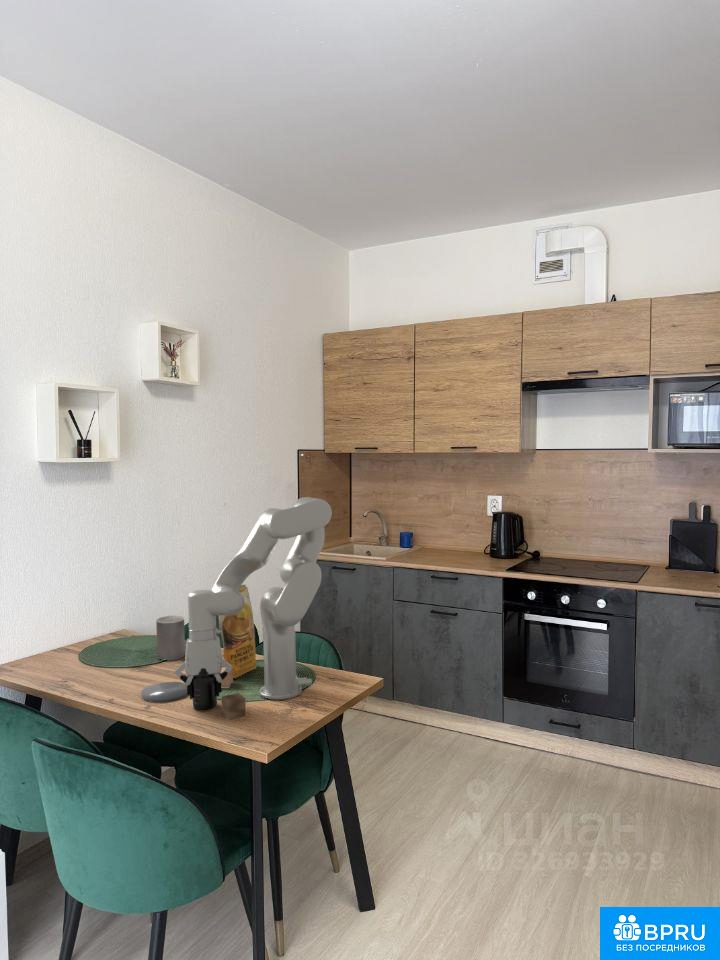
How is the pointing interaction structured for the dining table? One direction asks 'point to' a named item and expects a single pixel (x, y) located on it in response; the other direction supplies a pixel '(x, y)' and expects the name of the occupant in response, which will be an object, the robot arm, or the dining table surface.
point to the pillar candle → (170, 638)
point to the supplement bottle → (204, 691)
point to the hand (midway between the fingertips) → (204, 695)
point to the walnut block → (233, 706)
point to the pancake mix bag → (239, 637)
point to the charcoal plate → (164, 692)
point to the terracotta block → (226, 678)
